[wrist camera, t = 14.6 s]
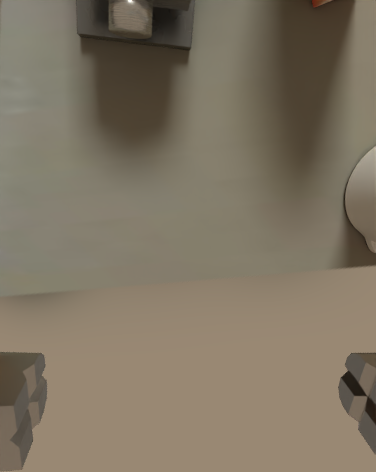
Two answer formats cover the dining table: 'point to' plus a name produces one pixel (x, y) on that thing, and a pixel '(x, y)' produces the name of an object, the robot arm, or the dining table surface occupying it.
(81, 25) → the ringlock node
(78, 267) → the dining table surface
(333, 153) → the dining table surface
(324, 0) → the cracker box
